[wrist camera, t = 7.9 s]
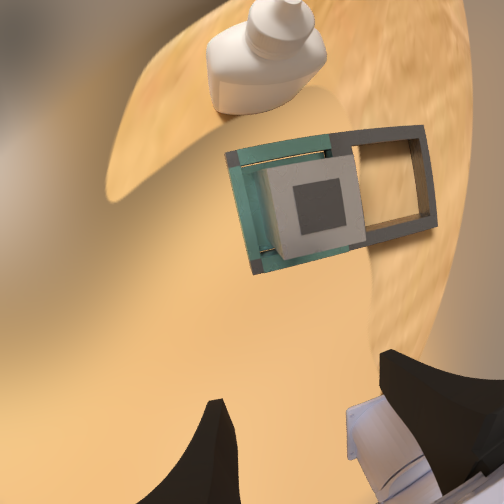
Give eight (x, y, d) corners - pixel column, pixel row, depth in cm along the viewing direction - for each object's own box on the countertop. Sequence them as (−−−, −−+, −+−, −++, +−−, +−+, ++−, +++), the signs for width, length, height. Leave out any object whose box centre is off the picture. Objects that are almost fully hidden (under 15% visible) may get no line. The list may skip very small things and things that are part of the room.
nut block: (327, 224, 21) (367, 241, 15) (265, 237, 21) (284, 260, 15) (316, 160, 20) (354, 154, 14) (252, 172, 20) (266, 168, 14)
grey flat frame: (426, 223, 22) (438, 226, 20) (250, 268, 21) (253, 276, 20) (412, 127, 20) (424, 124, 19) (224, 154, 19) (224, 152, 18)
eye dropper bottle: (282, 132, 19) (360, 78, 8) (202, 109, 18) (183, 24, 7) (298, 77, 19) (377, -10, 7) (221, 55, 18) (228, -59, 6)
